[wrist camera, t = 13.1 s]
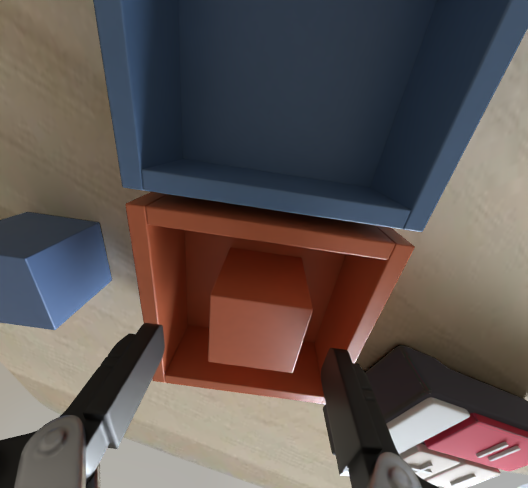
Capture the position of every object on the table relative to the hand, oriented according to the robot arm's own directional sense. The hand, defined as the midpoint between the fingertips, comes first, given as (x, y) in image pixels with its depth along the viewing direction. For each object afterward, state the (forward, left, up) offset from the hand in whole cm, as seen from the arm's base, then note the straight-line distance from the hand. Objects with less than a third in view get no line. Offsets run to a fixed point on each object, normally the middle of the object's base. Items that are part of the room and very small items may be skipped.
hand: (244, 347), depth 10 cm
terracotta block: (0, 0, -5) cm, 5 cm away
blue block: (-13, 0, -5) cm, 14 cm away
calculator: (+17, -12, -6) cm, 22 cm away
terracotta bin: (0, 0, -5) cm, 5 cm away
